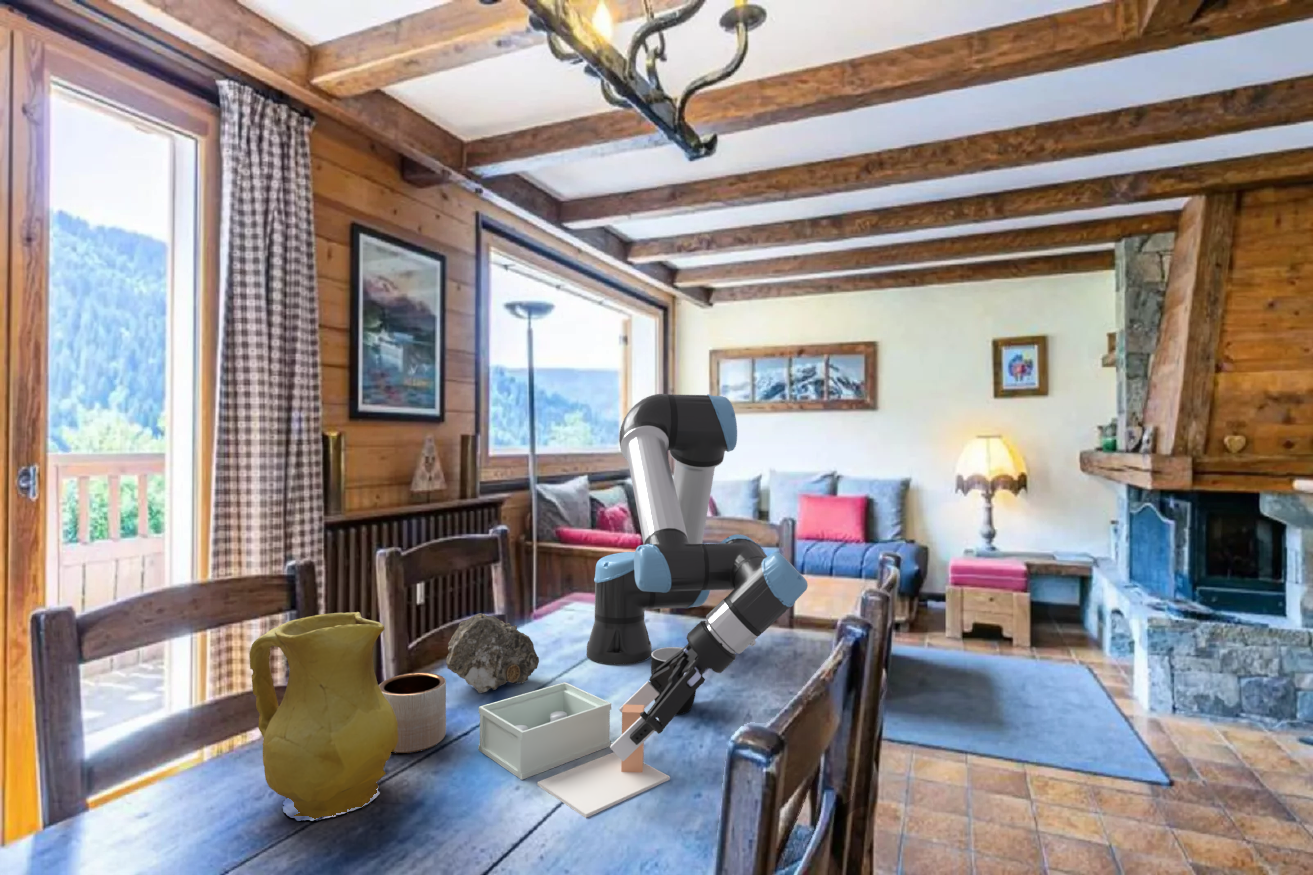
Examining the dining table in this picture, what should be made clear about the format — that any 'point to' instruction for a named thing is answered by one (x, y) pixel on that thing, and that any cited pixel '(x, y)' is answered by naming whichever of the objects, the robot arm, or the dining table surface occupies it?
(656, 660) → the mug
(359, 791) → the pitcher
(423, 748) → the planter
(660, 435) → the robot arm
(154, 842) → the dining table surface
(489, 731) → the tub
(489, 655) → the rock
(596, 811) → the lid
